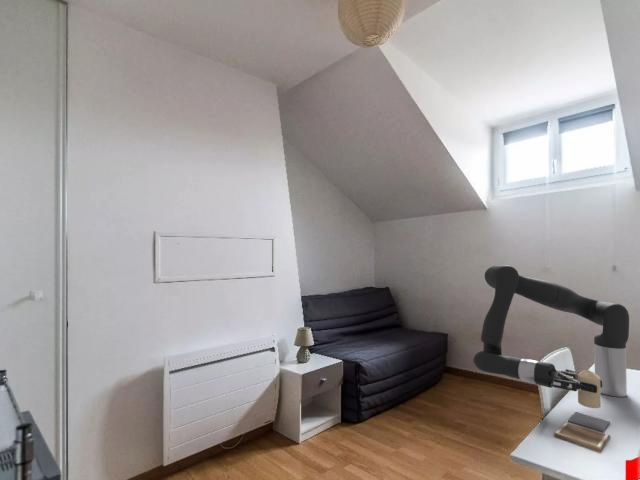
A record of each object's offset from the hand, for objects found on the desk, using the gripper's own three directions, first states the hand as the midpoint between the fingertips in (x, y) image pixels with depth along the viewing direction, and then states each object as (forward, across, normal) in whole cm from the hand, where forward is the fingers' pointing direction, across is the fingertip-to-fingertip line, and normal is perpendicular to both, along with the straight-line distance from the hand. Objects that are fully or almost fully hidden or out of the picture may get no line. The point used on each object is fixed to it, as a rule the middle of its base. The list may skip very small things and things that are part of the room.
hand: (599, 386), depth 107 cm
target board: (-2, -12, +11) cm, 17 cm away
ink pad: (-3, 0, +12) cm, 12 cm away
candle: (-3, 0, +6) cm, 7 cm away
